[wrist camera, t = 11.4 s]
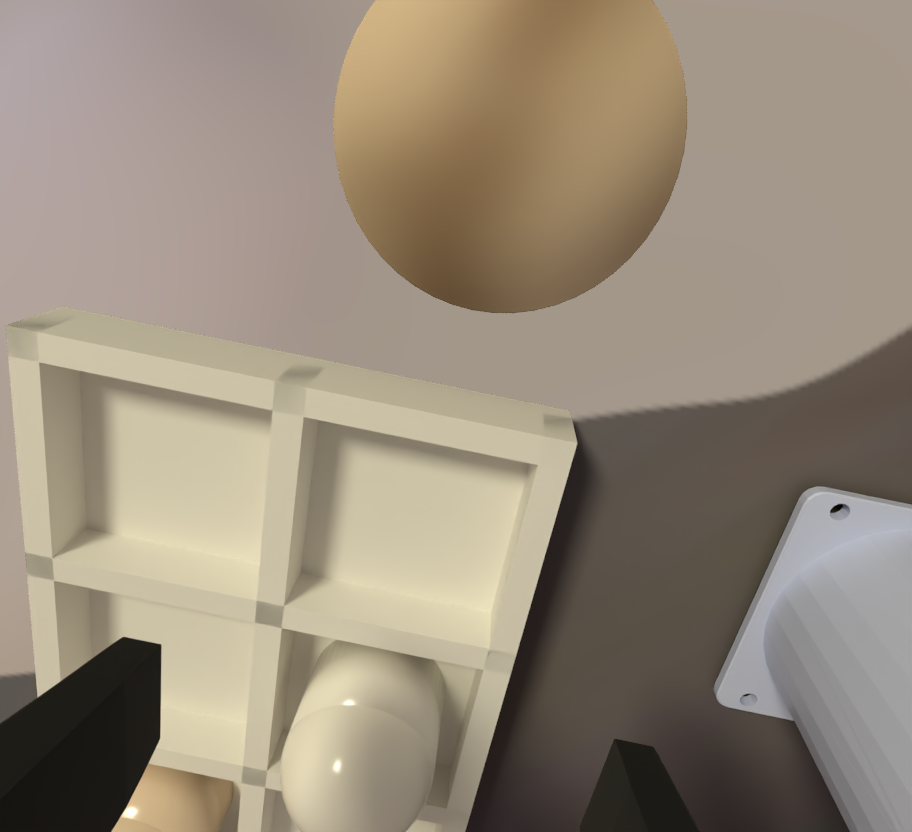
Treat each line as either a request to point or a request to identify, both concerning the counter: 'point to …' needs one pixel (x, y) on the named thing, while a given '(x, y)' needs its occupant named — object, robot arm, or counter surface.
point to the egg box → (275, 535)
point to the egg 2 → (363, 741)
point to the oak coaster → (509, 142)
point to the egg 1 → (176, 802)
